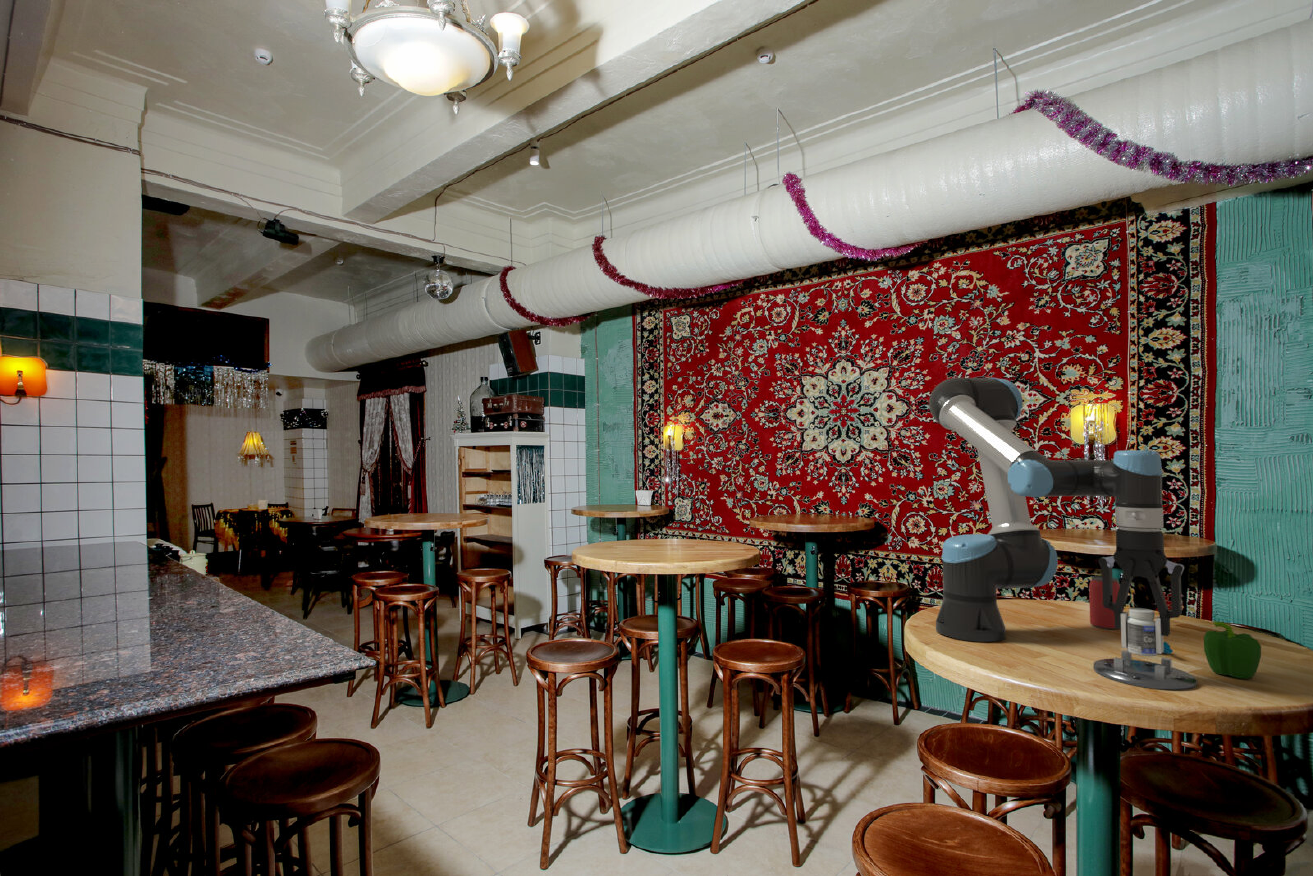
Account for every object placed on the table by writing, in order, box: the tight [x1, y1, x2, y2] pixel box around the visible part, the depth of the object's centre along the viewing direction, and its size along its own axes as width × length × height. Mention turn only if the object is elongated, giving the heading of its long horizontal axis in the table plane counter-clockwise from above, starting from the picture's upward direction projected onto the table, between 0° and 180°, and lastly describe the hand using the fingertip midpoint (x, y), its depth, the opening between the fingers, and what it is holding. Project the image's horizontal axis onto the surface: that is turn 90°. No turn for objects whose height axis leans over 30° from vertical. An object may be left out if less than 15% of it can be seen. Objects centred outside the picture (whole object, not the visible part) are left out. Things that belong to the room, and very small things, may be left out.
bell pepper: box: [1203, 621, 1262, 680], centre depth 127 cm, size 8×8×10 cm
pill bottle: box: [1126, 607, 1158, 657], centre depth 126 cm, size 5×5×8 cm
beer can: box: [1088, 575, 1121, 630], centre depth 163 cm, size 7×7×12 cm
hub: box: [1092, 650, 1198, 691], centre depth 126 cm, size 16×16×3 cm
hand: (1142, 648), depth 126 cm, fingers closed on pill bottle, 5 cm apart
